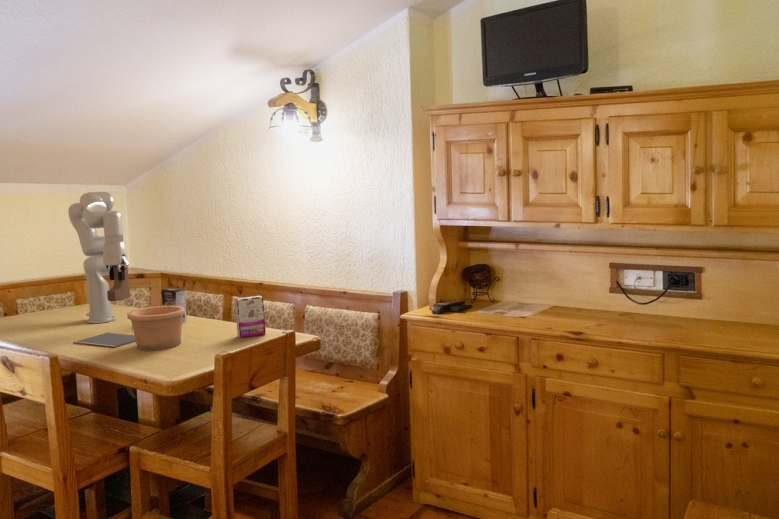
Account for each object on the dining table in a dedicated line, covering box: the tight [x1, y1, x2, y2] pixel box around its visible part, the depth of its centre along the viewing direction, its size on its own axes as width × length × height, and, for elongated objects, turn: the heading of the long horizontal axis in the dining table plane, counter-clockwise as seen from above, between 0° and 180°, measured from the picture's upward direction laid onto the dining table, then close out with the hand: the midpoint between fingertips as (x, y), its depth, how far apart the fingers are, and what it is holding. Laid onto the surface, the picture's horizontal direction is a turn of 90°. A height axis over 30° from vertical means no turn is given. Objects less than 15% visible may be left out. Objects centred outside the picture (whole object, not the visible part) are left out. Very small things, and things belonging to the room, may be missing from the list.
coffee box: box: [161, 287, 188, 324], centre depth 301 cm, size 9×6×16 cm
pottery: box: [126, 305, 185, 352], centre depth 258 cm, size 22×22×14 cm
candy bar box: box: [234, 295, 266, 339], centre depth 270 cm, size 11×5×16 cm, turn 117°
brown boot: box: [107, 263, 131, 302], centre depth 286 cm, size 9×4×18 cm, turn 156°
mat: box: [72, 331, 136, 349], centre depth 270 cm, size 24×18×1 cm
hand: (117, 279), depth 286 cm, fingers closed on brown boot, 4 cm apart
